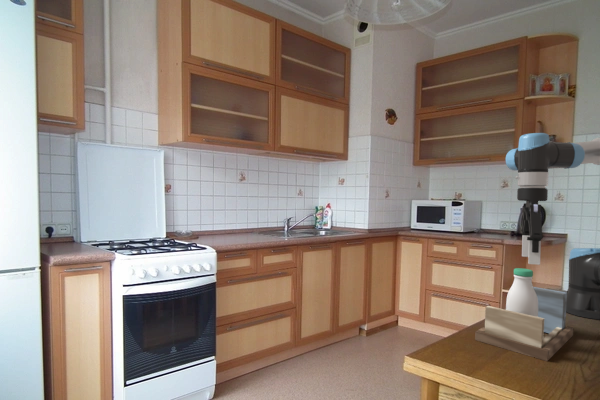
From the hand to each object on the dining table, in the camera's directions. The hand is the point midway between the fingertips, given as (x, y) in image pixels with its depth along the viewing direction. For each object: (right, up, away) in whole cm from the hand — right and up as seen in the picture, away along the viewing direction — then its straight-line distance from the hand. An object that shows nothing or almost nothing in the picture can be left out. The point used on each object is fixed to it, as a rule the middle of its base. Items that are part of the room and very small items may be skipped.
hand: (530, 260), depth 111 cm
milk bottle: (-6, -22, -6) cm, 23 cm away
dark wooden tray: (-4, -22, -3) cm, 22 cm away
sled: (-3, -21, -2) cm, 22 cm away
